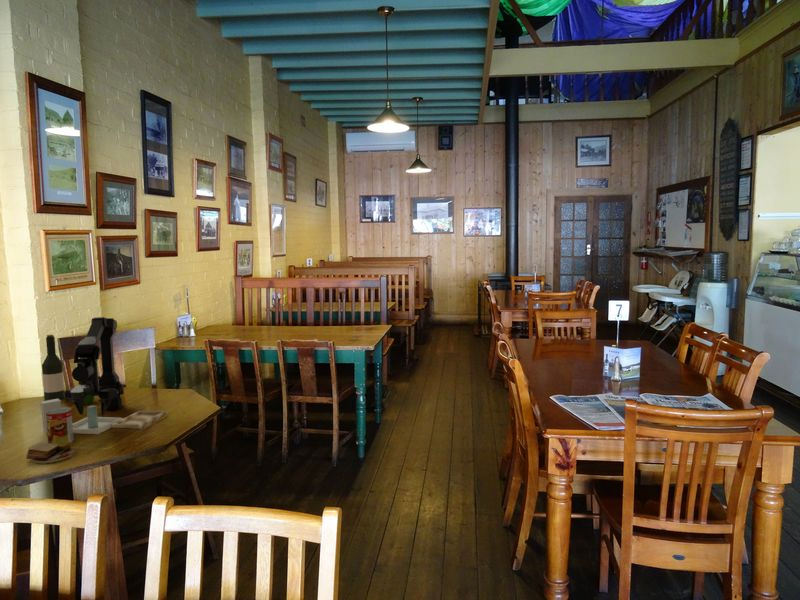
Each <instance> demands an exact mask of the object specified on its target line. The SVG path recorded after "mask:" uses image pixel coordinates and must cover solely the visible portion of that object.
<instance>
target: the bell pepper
mask: <svg viewBox="0 0 800 600" xmlns="http://www.w3.org/2000/svg"><path fill="white" fill-rule="evenodd" d="M94 400H95V396H90V395H87V396H86V397H85V398H84V405H87V404H90V403H93V402H94Z"/></svg>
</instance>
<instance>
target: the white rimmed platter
mask: <svg viewBox="0 0 800 600" xmlns="http://www.w3.org/2000/svg"><path fill="white" fill-rule="evenodd" d="M97 418H98V427H96V428H88V418H87V416H86V417H85V418H82V419H80V420H78V421H76V422H72V424H73V434H80V435H81V434H83V435H85V434H87V435H99V434H101V433H103V432H105V431H108V430H110V429H111V428H112V424H114V423H116V422H118V421H120V420H121V419H123V417H113V416H112V417H108V416H107V417H106V416H104V417H103V416H97Z"/></svg>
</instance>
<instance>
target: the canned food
mask: <svg viewBox="0 0 800 600" xmlns="http://www.w3.org/2000/svg"><path fill="white" fill-rule="evenodd" d="M46 420H47V433H46V434H47V443H53V444H58V445H66V444H69V443H71V442H74V433H73V409H72V408H71V407H69V406H63V407H62V406H61V407H60V408H54V409H50V410H48V411H46Z"/></svg>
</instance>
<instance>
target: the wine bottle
mask: <svg viewBox="0 0 800 600" xmlns="http://www.w3.org/2000/svg"><path fill="white" fill-rule="evenodd" d="M55 340H56V339H55V336H54V334H47V335H46V337H45V342H46V343H45V344H46V354H47V355H46V356H45V359H44V360H43V363H42V364H41V370H42V383H43V384H42V385H43V397H44V401H48V400H53V399H59V400H61V401H62V400H65V398H64V393H65V391H66V390H65V379H64V365H63V361H62V360H61V359H60V357H59V356H58V355H57V350H56V341H55Z"/></svg>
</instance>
